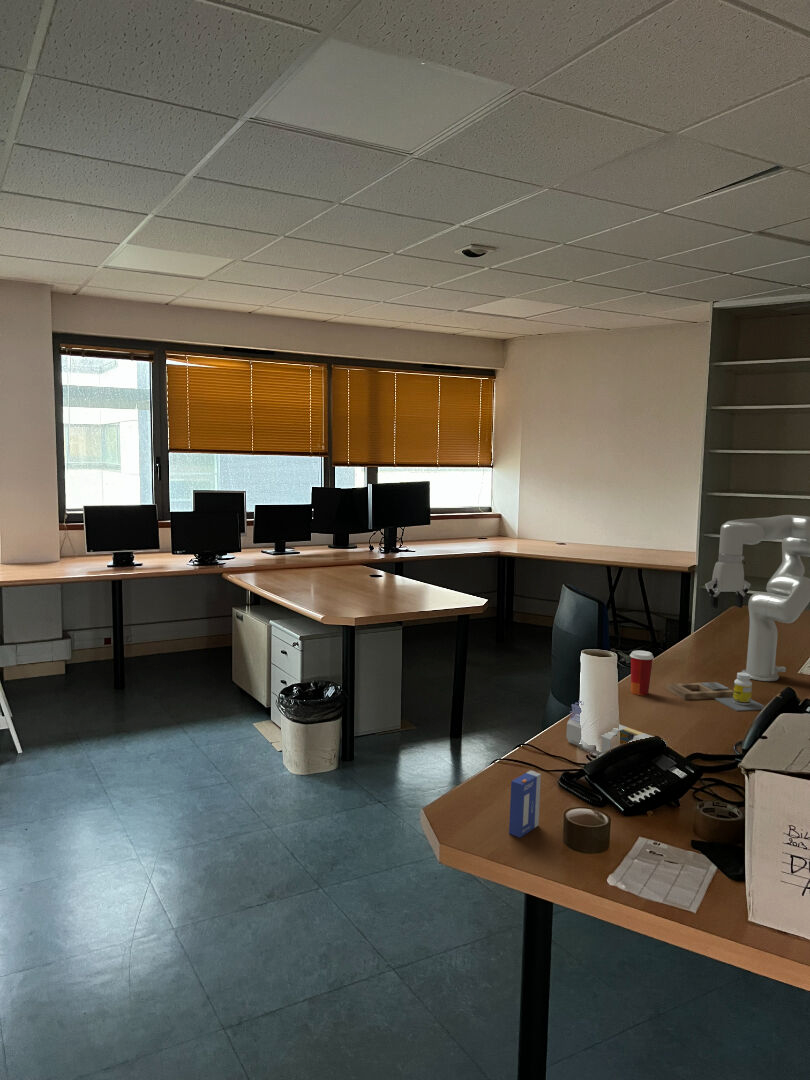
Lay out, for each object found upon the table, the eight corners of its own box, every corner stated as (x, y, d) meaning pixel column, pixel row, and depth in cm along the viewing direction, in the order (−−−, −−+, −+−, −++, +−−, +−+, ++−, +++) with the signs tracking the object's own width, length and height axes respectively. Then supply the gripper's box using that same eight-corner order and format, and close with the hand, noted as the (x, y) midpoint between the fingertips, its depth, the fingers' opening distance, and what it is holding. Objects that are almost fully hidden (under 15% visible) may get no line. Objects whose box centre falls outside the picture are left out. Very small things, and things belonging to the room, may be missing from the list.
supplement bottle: (729, 700, 259) (731, 671, 258) (745, 700, 259) (747, 671, 258) (737, 705, 254) (740, 676, 253) (753, 705, 254) (756, 676, 253)
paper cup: (651, 691, 268) (654, 651, 267) (650, 697, 261) (653, 656, 259) (628, 688, 271) (630, 649, 269) (626, 694, 263) (629, 654, 262)
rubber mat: (745, 697, 264) (745, 696, 264) (769, 709, 252) (769, 708, 252) (714, 699, 261) (714, 698, 261) (736, 711, 249) (737, 709, 249)
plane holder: (715, 687, 274) (715, 680, 274) (734, 697, 264) (735, 689, 264) (666, 689, 270) (667, 682, 270) (684, 699, 260) (685, 692, 259)
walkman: (520, 838, 163) (522, 783, 162) (508, 833, 165) (511, 779, 163) (539, 825, 169) (542, 772, 168) (528, 821, 171) (530, 768, 169)
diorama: (565, 743, 218) (568, 698, 217) (589, 736, 224) (591, 692, 223) (641, 774, 199) (644, 724, 197) (665, 765, 205) (668, 717, 203)
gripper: (744, 557, 278) (741, 604, 280) (701, 557, 274) (698, 605, 276) (758, 560, 270) (754, 609, 272) (714, 560, 266) (710, 609, 268)
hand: (726, 607), depth 274 cm, fingers open, 9 cm apart
